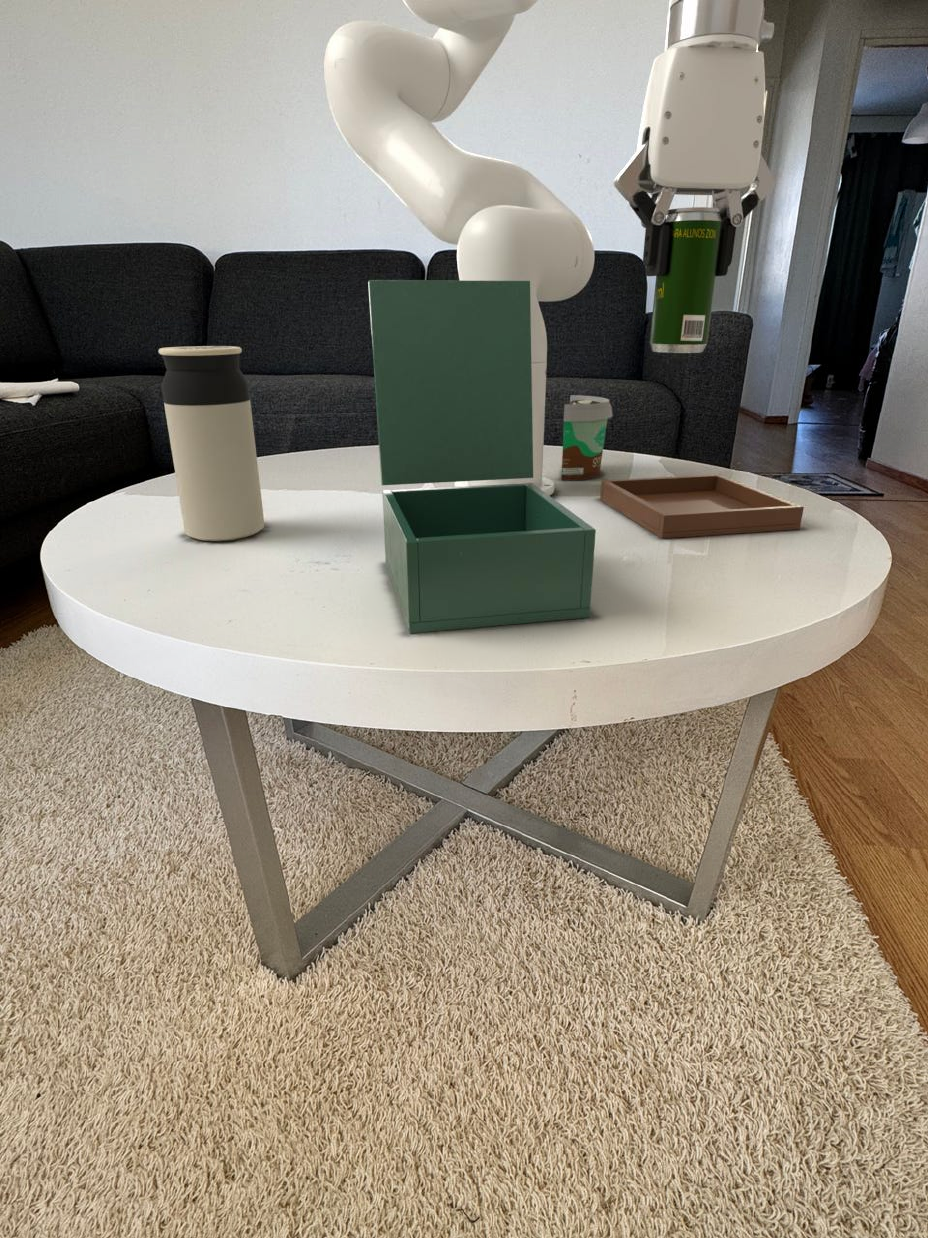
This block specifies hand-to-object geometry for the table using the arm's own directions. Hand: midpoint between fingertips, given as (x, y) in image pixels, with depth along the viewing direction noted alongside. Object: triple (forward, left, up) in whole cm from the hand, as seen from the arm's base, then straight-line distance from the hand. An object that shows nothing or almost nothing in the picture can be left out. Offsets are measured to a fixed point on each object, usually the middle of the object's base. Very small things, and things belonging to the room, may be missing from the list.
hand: (685, 273), depth 67 cm
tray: (-3, +6, -24) cm, 25 cm away
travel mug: (-7, -45, -24) cm, 52 cm away
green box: (+15, -23, -24) cm, 37 cm away
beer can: (0, 0, -7) cm, 7 cm away
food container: (-26, +2, -24) cm, 36 cm away
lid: (+6, -23, -9) cm, 25 cm away
